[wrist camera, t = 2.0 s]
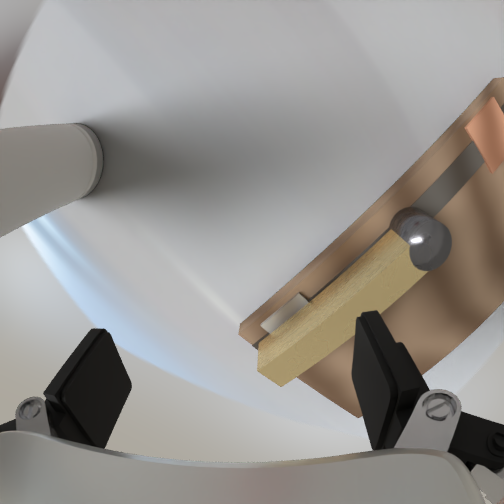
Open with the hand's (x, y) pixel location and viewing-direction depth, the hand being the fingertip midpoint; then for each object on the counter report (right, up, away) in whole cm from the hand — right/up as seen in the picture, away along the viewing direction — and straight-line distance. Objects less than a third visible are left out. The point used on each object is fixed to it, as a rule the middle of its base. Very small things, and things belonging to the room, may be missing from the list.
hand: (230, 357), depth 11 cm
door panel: (+17, +3, +12) cm, 21 cm away
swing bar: (+7, +1, +11) cm, 13 cm away
